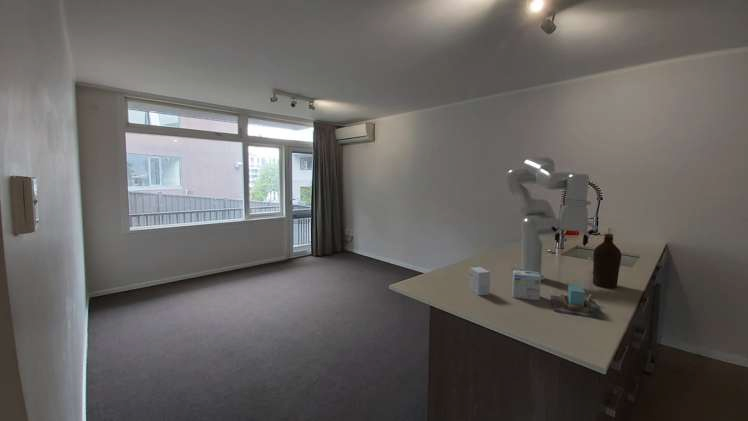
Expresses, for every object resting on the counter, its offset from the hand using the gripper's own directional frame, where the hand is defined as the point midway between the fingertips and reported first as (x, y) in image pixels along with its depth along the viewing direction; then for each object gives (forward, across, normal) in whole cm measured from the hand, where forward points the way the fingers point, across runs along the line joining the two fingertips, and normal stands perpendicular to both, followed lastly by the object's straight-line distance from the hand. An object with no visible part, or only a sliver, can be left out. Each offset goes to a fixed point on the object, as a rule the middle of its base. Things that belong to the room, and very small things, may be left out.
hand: (570, 243), depth 132 cm
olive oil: (+25, -19, -25) cm, 40 cm away
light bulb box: (+24, +15, +7) cm, 30 cm away
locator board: (+24, -3, +10) cm, 26 cm away
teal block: (+23, -3, +10) cm, 25 cm away
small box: (+25, +34, +10) cm, 44 cm away
